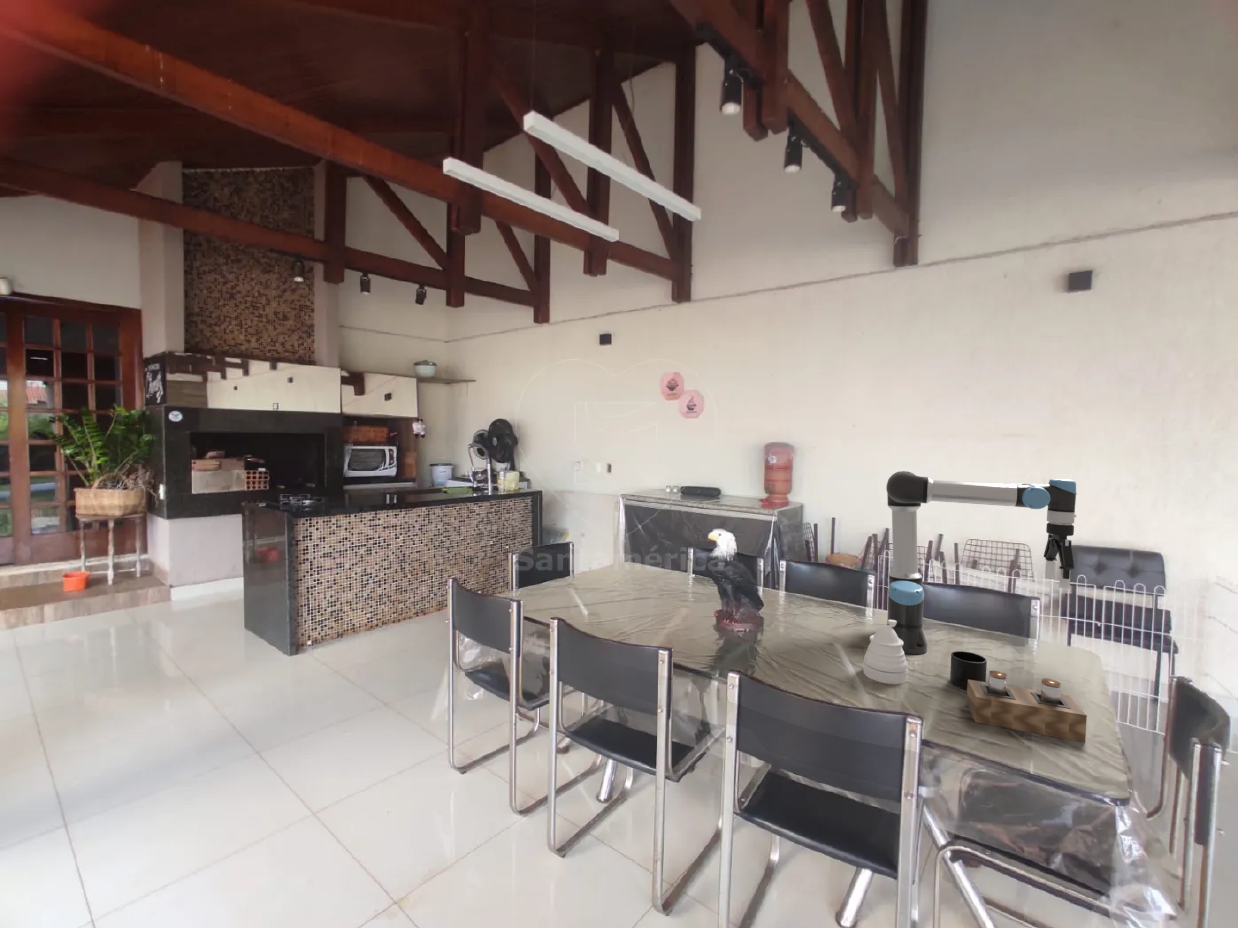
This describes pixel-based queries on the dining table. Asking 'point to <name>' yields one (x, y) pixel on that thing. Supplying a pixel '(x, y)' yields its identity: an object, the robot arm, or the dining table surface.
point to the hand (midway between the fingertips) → (1056, 583)
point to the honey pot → (886, 656)
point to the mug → (967, 668)
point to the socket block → (1026, 711)
